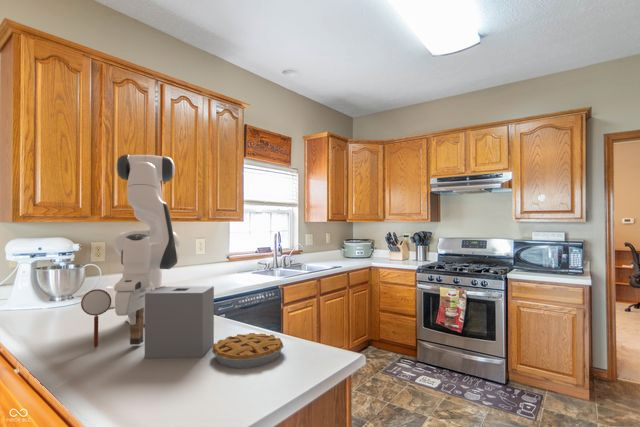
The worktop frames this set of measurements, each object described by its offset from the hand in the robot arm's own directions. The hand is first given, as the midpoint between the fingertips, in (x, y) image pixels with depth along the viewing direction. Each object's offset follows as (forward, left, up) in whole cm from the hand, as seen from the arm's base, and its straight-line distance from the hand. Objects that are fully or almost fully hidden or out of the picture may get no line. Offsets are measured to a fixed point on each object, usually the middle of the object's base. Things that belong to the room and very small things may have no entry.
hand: (136, 322), depth 122 cm
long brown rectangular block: (0, 0, -7) cm, 7 cm away
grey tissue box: (+5, +17, -8) cm, 19 cm away
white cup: (-61, -42, -8) cm, 74 cm away
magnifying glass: (+3, -12, -8) cm, 15 cm away
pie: (+10, +40, -9) cm, 42 cm away
